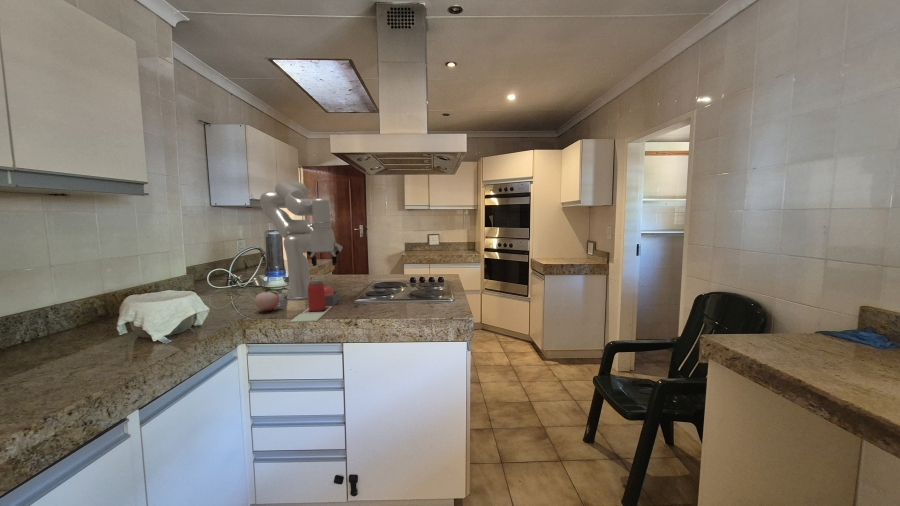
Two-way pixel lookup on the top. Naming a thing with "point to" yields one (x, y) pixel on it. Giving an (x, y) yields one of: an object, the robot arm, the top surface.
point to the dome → (328, 291)
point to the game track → (316, 316)
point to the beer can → (316, 296)
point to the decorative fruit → (267, 300)
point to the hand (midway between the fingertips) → (324, 265)
